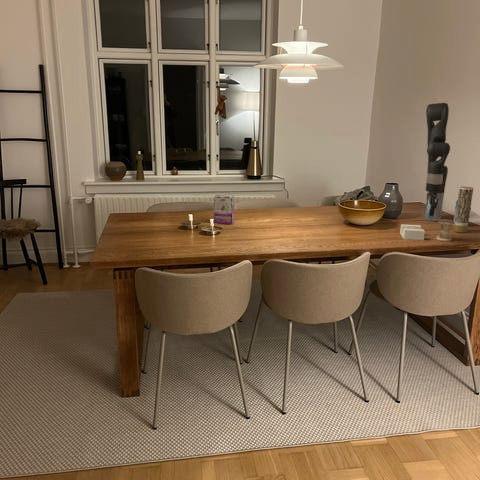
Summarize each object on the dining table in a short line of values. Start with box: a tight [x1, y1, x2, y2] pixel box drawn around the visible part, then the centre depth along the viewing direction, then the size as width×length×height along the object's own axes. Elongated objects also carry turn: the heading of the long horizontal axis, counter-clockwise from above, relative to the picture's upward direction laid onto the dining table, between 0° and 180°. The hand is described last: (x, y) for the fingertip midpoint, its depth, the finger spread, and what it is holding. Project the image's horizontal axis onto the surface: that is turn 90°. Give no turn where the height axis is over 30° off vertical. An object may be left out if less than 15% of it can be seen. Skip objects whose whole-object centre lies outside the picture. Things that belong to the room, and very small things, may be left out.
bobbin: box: [435, 218, 454, 242], centre depth 249 cm, size 8×8×10 cm
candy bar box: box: [213, 194, 235, 225], centre depth 277 cm, size 11×5×16 cm, turn 76°
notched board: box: [399, 224, 426, 241], centre depth 254 cm, size 12×10×5 cm
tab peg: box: [426, 201, 435, 219], centre depth 245 cm, size 4×4×9 cm
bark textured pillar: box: [453, 186, 474, 234], centre depth 261 cm, size 7×7×25 cm
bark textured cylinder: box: [452, 193, 472, 226], centre depth 275 cm, size 8×8×20 cm
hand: (430, 214), depth 246 cm, fingers closed on tab peg, 3 cm apart
